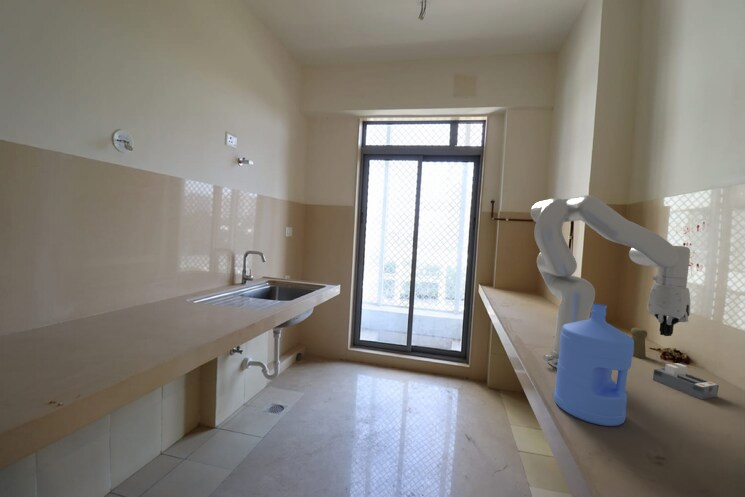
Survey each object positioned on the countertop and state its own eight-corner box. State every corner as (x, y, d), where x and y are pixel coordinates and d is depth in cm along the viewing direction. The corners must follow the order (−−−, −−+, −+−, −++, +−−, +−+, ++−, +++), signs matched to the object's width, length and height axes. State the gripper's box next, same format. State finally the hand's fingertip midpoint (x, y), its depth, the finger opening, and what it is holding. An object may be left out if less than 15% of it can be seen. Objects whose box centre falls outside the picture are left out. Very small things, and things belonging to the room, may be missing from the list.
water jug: (543, 403, 86) (554, 300, 84) (567, 389, 95) (578, 296, 94) (612, 436, 73) (627, 316, 72) (633, 415, 83) (646, 309, 81)
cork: (649, 359, 126) (652, 331, 125) (632, 357, 127) (635, 329, 126) (640, 353, 132) (643, 327, 131) (623, 351, 133) (626, 325, 132)
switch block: (701, 399, 95) (703, 386, 95) (652, 379, 107) (654, 368, 106) (717, 396, 97) (718, 384, 97) (668, 377, 109) (669, 366, 109)
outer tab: (681, 378, 103) (683, 366, 103) (672, 375, 106) (674, 363, 105) (685, 378, 104) (687, 366, 104) (676, 374, 106) (678, 363, 106)
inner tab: (673, 379, 102) (674, 367, 102) (664, 376, 104) (665, 364, 104) (677, 379, 103) (678, 367, 102) (668, 375, 105) (669, 364, 105)
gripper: (639, 278, 114) (634, 329, 115) (692, 286, 100) (686, 343, 101) (653, 278, 116) (648, 327, 118) (707, 285, 102) (700, 342, 103)
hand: (665, 335), depth 109 cm, fingers closed
